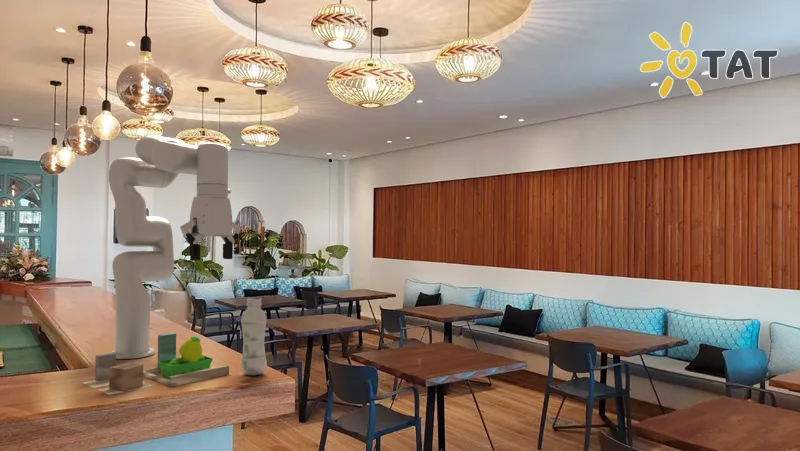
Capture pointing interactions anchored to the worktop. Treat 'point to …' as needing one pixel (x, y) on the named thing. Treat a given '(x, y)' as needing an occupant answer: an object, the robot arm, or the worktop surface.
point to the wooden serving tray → (169, 352)
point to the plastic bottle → (253, 338)
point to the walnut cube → (125, 377)
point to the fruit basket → (186, 360)
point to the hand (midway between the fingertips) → (211, 259)
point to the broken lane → (109, 391)
